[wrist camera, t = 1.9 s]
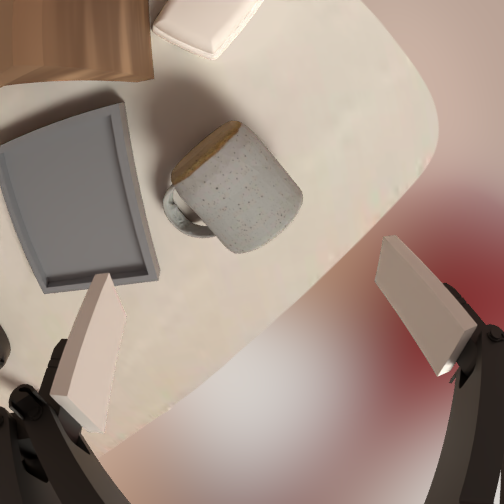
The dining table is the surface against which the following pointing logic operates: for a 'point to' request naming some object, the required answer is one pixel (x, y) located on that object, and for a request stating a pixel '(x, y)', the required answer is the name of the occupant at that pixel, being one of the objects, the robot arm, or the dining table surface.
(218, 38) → the soap
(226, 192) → the ceramic mug
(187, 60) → the dining table surface
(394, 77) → the dining table surface
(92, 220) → the tray
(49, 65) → the wooden cube shelf
